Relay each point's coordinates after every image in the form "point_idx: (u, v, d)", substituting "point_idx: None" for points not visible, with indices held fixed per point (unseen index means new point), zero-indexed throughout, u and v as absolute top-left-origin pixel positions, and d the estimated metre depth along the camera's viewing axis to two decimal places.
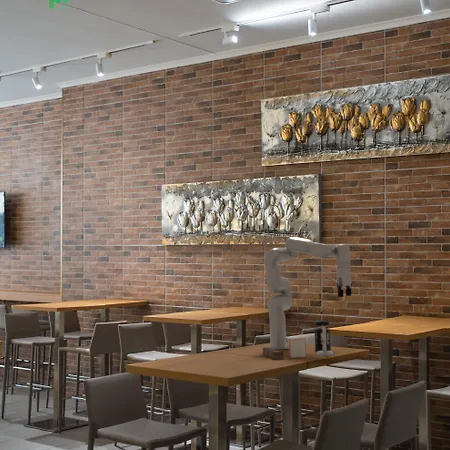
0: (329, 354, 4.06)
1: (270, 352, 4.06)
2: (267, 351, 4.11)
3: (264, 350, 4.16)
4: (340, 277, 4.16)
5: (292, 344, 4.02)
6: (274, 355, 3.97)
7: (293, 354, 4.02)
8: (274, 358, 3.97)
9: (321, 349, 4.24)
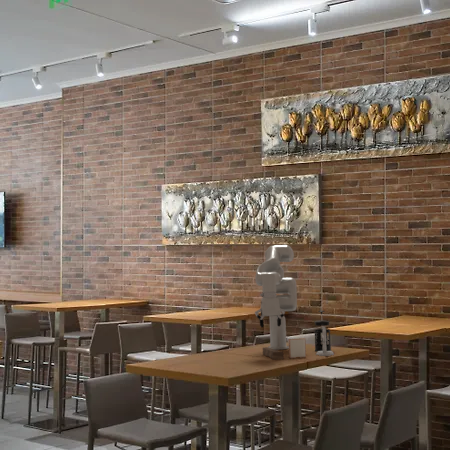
0: (329, 354, 4.06)
1: (270, 352, 4.06)
2: (267, 351, 4.11)
3: (264, 350, 4.16)
4: None
5: (292, 344, 4.02)
6: (274, 355, 3.97)
7: (293, 354, 4.02)
8: (274, 358, 3.97)
9: (321, 349, 4.24)
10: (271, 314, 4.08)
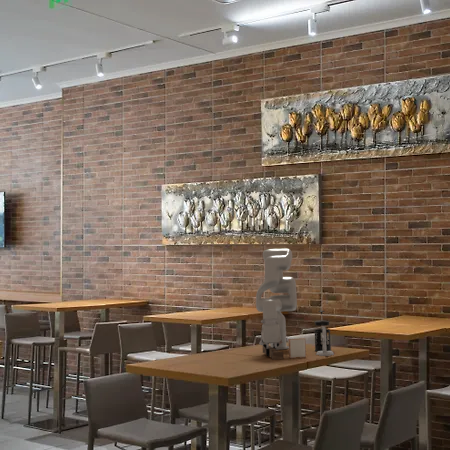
0: (329, 354, 4.06)
1: (270, 351, 4.06)
2: None
3: (264, 348, 4.16)
4: None
5: (292, 344, 4.02)
6: (274, 355, 3.97)
7: (293, 354, 4.02)
8: (274, 358, 3.97)
9: (321, 349, 4.24)
10: (272, 341, 4.07)
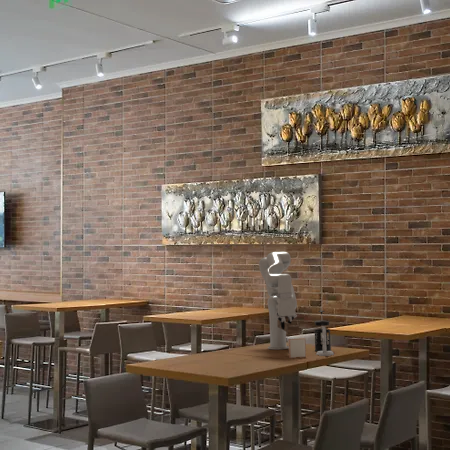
0: (329, 354, 4.06)
1: (285, 326, 4.17)
2: None
3: (279, 323, 4.28)
4: None
5: (292, 344, 4.02)
6: (289, 329, 4.09)
7: (293, 354, 4.02)
8: (289, 332, 4.09)
9: (321, 349, 4.24)
10: (287, 314, 4.18)
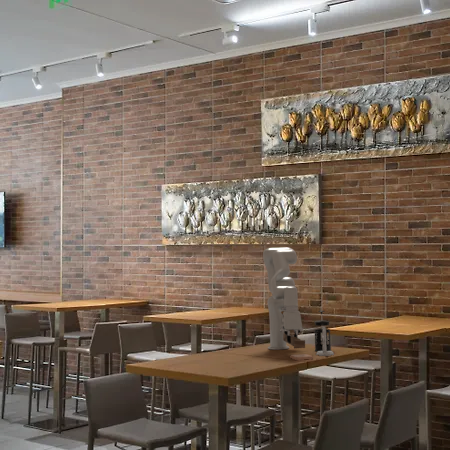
0: (329, 354, 4.06)
1: (291, 340, 4.08)
2: None
3: (285, 336, 4.18)
4: None
5: None
6: (296, 344, 3.99)
7: None
8: (296, 347, 3.99)
9: (321, 349, 4.24)
10: (293, 328, 4.09)
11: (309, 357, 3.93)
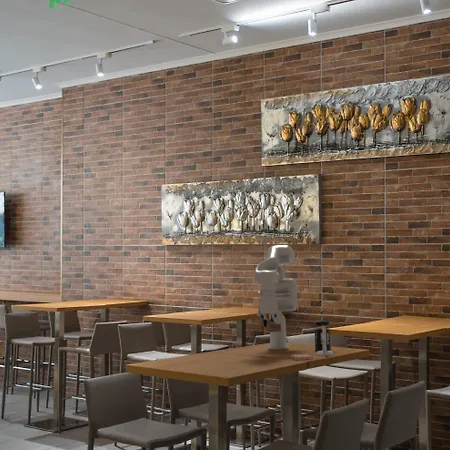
0: (329, 354, 4.06)
1: (267, 323, 4.09)
2: None
3: (261, 320, 4.20)
4: None
5: None
6: (271, 327, 4.01)
7: None
8: (271, 330, 4.01)
9: (321, 349, 4.24)
10: (269, 312, 4.11)
11: (309, 357, 3.93)
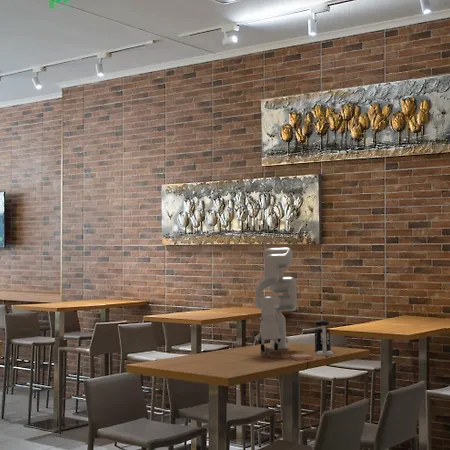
0: (329, 354, 4.06)
1: (268, 351, 4.09)
2: (265, 350, 4.14)
3: None
4: None
5: None
6: (272, 354, 4.00)
7: None
8: (272, 357, 4.00)
9: (321, 349, 4.24)
10: (270, 338, 4.10)
11: (309, 357, 3.94)
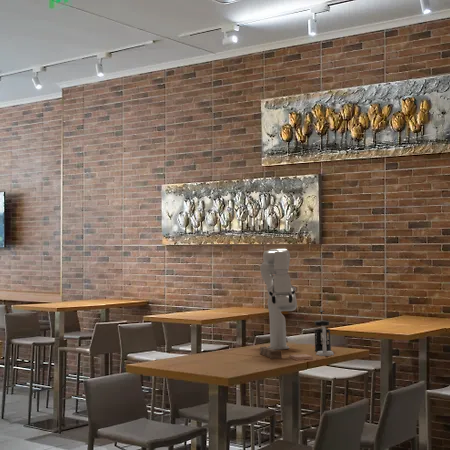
0: (329, 354, 4.06)
1: (268, 351, 4.09)
2: (265, 350, 4.14)
3: (261, 349, 4.19)
4: None
5: None
6: (272, 354, 4.00)
7: None
8: (272, 357, 4.00)
9: (321, 349, 4.24)
10: (283, 291, 4.22)
11: (309, 357, 3.94)
